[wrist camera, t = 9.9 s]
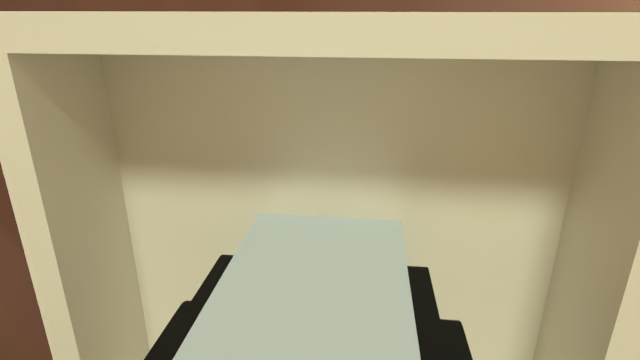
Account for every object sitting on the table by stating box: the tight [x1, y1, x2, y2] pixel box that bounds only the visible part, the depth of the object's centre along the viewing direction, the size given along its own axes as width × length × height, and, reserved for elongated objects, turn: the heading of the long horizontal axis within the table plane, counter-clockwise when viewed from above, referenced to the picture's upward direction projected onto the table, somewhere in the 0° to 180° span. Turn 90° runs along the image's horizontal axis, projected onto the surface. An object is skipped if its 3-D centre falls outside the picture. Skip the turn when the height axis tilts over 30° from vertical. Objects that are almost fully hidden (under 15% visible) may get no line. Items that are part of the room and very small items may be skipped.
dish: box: [0, 11, 640, 360], centre depth 12 cm, size 15×15×4 cm
